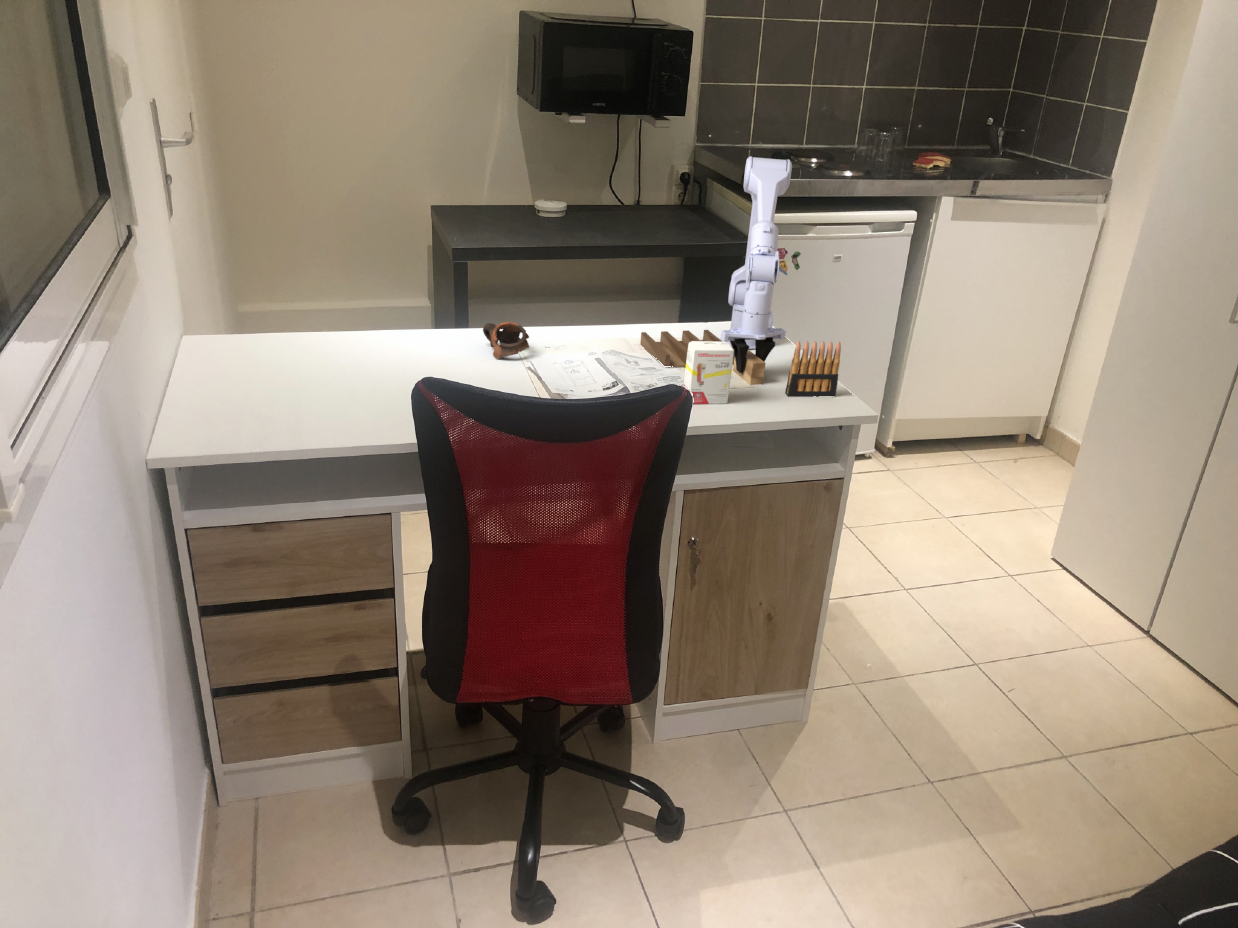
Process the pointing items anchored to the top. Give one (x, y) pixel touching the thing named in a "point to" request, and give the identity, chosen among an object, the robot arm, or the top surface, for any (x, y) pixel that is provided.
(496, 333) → the pottery mug
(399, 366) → the top surface
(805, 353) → the ammunition clip
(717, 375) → the ink box
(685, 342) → the notched ledge
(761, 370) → the tall wooden plank
